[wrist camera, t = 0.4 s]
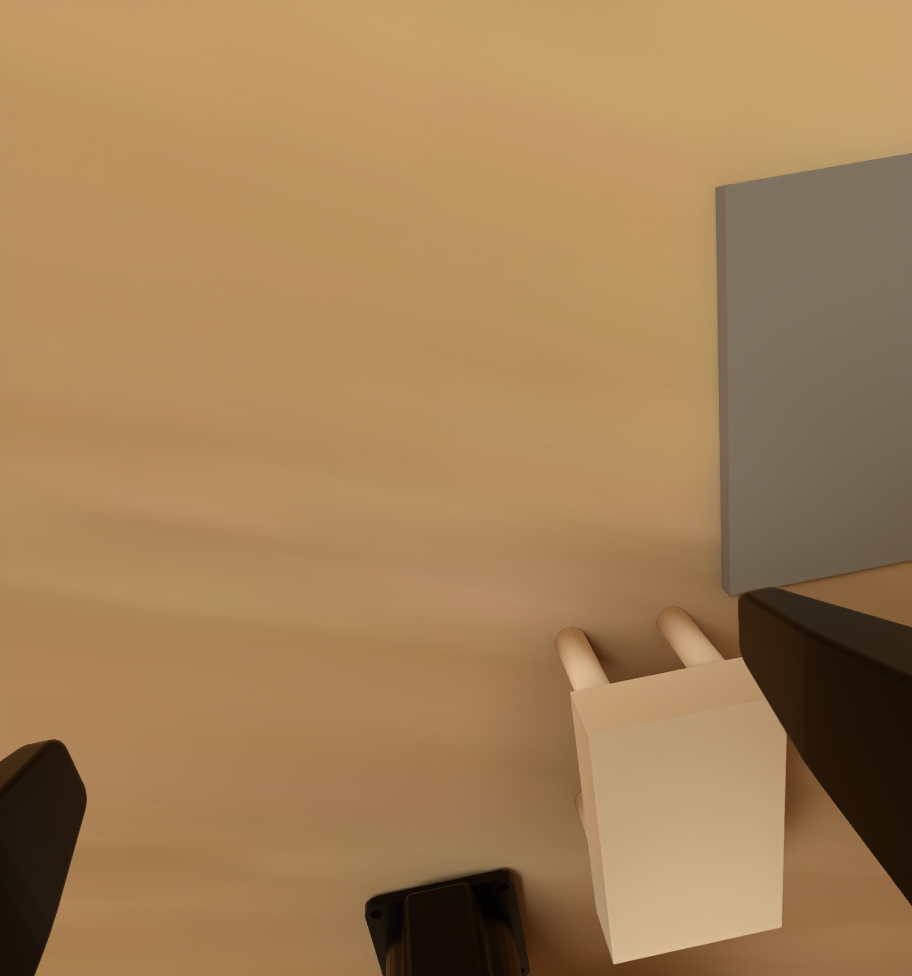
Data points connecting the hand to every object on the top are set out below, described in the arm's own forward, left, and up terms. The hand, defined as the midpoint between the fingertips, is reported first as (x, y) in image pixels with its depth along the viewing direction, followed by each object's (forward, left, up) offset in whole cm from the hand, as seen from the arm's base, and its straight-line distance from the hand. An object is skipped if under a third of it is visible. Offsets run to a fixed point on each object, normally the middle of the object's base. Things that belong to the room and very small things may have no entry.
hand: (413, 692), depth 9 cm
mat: (-2, -21, -14) cm, 25 cm away
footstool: (-14, -7, -14) cm, 20 cm away
